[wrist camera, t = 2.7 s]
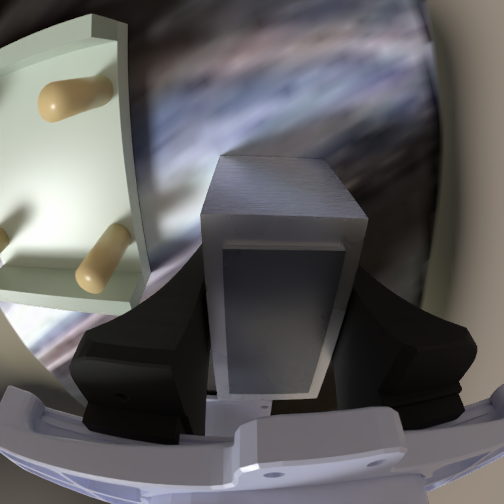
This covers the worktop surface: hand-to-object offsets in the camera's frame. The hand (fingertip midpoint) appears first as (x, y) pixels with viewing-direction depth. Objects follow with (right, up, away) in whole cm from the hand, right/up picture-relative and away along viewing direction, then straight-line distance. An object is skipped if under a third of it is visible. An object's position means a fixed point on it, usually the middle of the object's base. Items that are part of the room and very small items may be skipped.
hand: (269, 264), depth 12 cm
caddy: (-10, +4, -1) cm, 11 cm away
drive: (0, +1, +1) cm, 1 cm away
